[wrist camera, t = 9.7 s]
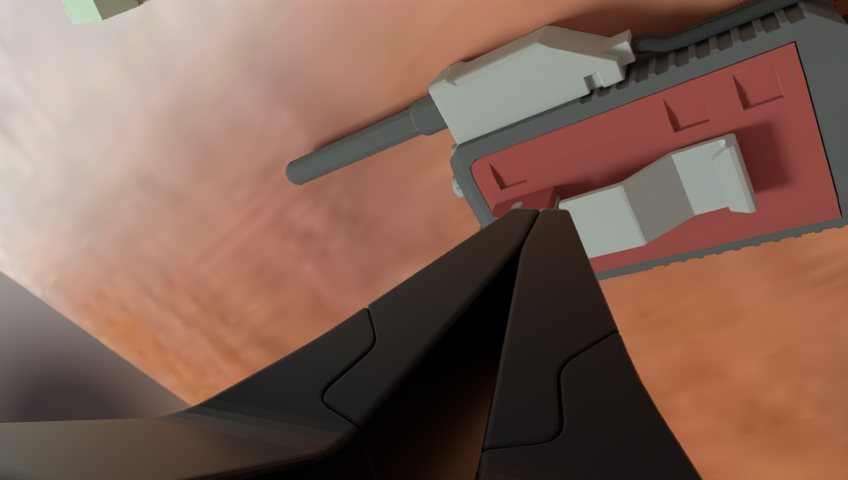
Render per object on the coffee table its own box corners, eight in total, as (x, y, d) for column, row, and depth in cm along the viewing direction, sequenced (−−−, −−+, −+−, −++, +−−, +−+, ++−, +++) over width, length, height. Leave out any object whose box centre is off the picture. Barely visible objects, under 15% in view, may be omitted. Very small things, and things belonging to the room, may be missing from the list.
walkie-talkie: (855, -134, 15) (290, 139, 25) (910, -113, 11) (231, 191, 22) (915, 164, 18) (395, 294, 28) (971, 248, 15) (357, 361, 25)
